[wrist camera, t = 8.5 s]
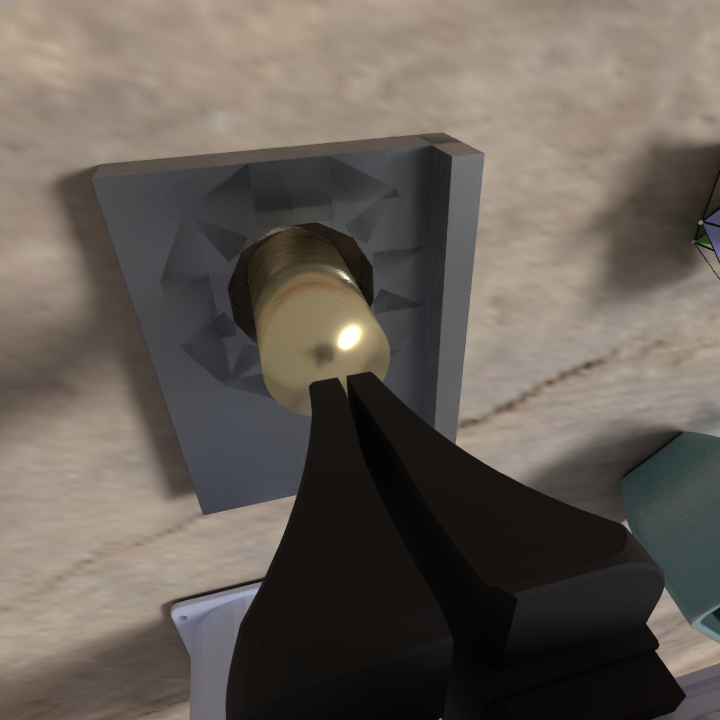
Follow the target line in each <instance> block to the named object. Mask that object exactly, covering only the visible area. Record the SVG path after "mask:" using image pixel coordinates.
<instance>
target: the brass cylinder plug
mask: <svg viewBox="0 0 720 720" xmlns="http://www.w3.org/2000/svg"><path fill="white" fill-rule="evenodd" d="M248 284H249V290H250V297H251V303H252V309H253V315H254V322H255V328H256V334H257V341H258V347H259V353H260V359H261V366H262V372H263V378H264V382H265V385H266V387H267V389H268V391H269V393H270V394H271V396H272V397H273V398H274V399H275V400H276V401H277V402H278V403H279V404H280V405H282V406H283V407H285V408H287V409H288V410H291V411H293V412H295V413H299V414H302V415H308V416H312V410H311V401H310V393H309V385H310V384H311V383H312V382H314V381H319V380H325V379H330V378H336V377H338V379H339V380H340V382H341V384H342V386H343V388H344V390H345V392H346V394H347V379H346V376H347V375H353V374H358V373H364V372H369V371H371V372H372V373H374V374H375V375H376V376H377V377H378V378H379V379H380V380H381V381H382V382H383V380H384V378H385V376H386V373H387V371H388V367H389V363H390V348H389V344H388V341H387V338H386V336H385V334H384V332H383V330H382V329H381V327H380V325H379V323H378V321H377V320H376V318H375V316H374V314H373V312H372V311H371V309H370V307H369V305H368V303H367V302H366V300H365V298H364V296H363V295H362V293H361V291H360V289H359V287H358V286H357V284H356V282H355V280H354V278H353V277H352V275H351V273H350V271H349V269H348V268H347V266H346V264H345V262H344V260H343V259H342V257H341V255H340V253H339V252H338V250H337V248H336V247H335V246H334V245H333V243H331V242H330V241H329V240H328V239H327V238H325V237H324V236H322V235H320V234H318V233H316V232H313V231H309V230H303V229H292V230H286V231H283V232H280V233H277V234H275V235H273V236H271V237H270V238H268V239H267V240H265V241H264V242H263V243H262V244H261V245H260V246H259V247H258V248H257V250H256V251H255V253H254V254H253V256H252V258H251V261H250V264H249V268H248ZM347 397H348V395H347Z"/></svg>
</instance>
